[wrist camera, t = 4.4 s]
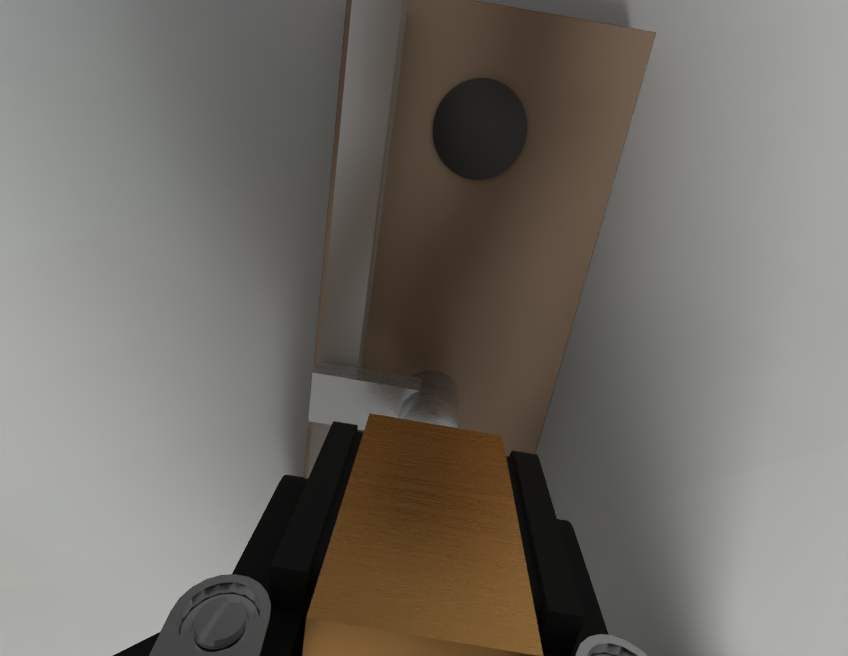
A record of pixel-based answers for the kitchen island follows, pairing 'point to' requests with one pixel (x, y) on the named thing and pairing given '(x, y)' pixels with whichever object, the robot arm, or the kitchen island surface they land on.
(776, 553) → the kitchen island surface
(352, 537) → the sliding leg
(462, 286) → the brown wooden stand
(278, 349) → the kitchen island surface
